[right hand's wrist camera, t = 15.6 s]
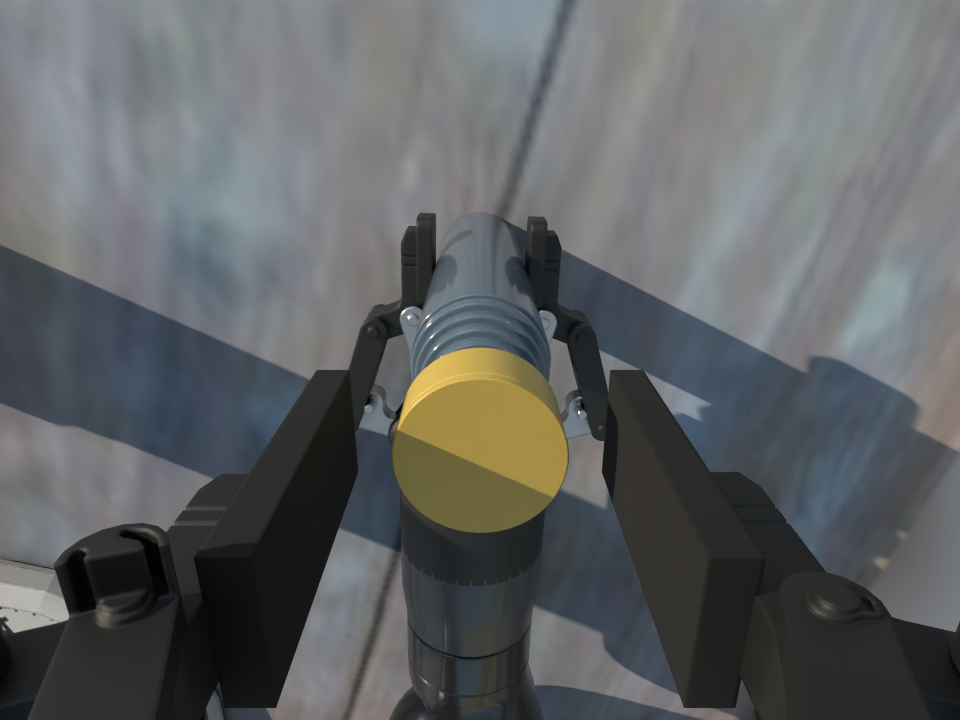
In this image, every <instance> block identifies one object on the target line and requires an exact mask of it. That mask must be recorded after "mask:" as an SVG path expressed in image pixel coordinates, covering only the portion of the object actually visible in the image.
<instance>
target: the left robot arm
mask: <svg viewBox="0 0 960 720" xmlns="http://www.w3.org/2000/svg"><path fill="white" fill-rule="evenodd" d="M560 258H561V245H560V242H559V239H558V236H557V234H556V233H555V231H550V230H547V221H546V219H545V218H544V217H528V222H527V239H526V256H525V269H526V272H527V275H528V278H529V281H530V285H531V288H532V291H533V294H534V298H535V301H536V304H537V307H538V310H539V314H540V317H541V320H542V323H543V326H544V330H545V333H546V336H547V339H548V343H549V345H550V342H551V339H552V338H554V339H556V340H559V341H562V342H564V343H567V346H568V350H569V354H570V358H571V363H572V367H573V371H574V375H575V379H576V383H577V387H578V389H577V390H573V391H571V392H570V393H569V394H568V395H567V396H566V399H565V404H566V406H565V409H564V411H563V412H562V413H561V414H560V416H561V420H562V423H563V427H564V431H565V434H566V438H567V439H570V438H574V437H578V436H582V435H586V434H590V433H591V434H592V436H593V437H594V438H595V439H597V440H600V441H605V429H606V417H607V405H608V389H607V384H606V380H605V376H604V371H603V367H602V362H601V358H600V353H599V349H598V345H597V340H596V336H595V333H594V331H593V329H592V327H591V325H590V323H589V322H588V320H587V318H586V316H585V315H584V314H583V313H582V312H580V311H571V310H569V309H566V308H564V307H562V306H560V305H559V304H558V303H557V297H558V284H559V269H560ZM401 264H402V266H401V268H402V298H401V299H400V300H398V301H397V302H394V303H391V304H388V305H382V304H380V305H376V306H374V307H373V308H372V309H371V310H370V312H369V314H368V317H367V319H366V320H365V321H364V323H363V324H362V326H361V328H360V332H359V335H358V339H357V342H356V346H355V349H354V353H353V356H352V360H351V363H350V366H349V370H350V381H351V393H352V405H353V417H354V429H355V431H356V430H357V429H358V427H360V428H363V429H366V430H370V431H373V432H376V433H380V434H383V435H386V436H388V438H389V442H390V444H391V446H392V448H393V442H394V437H395V433H396V430H397V426H398V422H399V418H400V415H401V411H402V407H403V404H404V402H403V403H402V405H401V406H400V407H399V408H398V410H397V411H396V412H393V411H391V410H390V409H389V408H388V406H387V404H386V392H385V390H384V389H383V388H382V387H381V386H379V385H376V384H374V382H375V379H376V376H377V373H378V369H379V366H380V363H381V360H382V356H383V353H384V350H385V347H386V343H387V340H388V339H389V338H392V337H395V336H399V335H402V334H404V336H405V339H406V342H407V345H408V348H409V352H410V350H411V345H412V341H413V338H414V335H415V331H416V328H417V325H418V322H419V318H420V315H421V312H422V309H423V305H424V302H425V299H426V296H427V292H428V289H429V286H430V282H431V279H432V276H433V273H434V269H435V266H436V214H435V213H420V214H419V215H418V217H417V222H416V226H409V227H408V228H407V230H406V231H405V234H404V236H403V239H402V242H401ZM400 505H401V550H402V581H403V589H404V595H405V600H406V605H407V624H408V661H409V673H410V678H411V681H412V685H413V686H412V687H411V688H410V689H408V690H407V691H406V693H405V694H404V695H403V696H402V697H401V699H400V700H399V702H398V703H397V705H396V706H395V708H394V710H393V712H392V714H391V717H390V719H389V720H544V719H543V715H542V711H541V708H540V704H539V700H538V697H537V693H536V689H535V685H534V681H533V677H532V673H531V670H530V667H529V664H528V660H529V648H530V635H531V622H532V612H533V607H534V603H535V599H536V596H537V591H538V586H539V577H540V565H541V553H542V540H543V528H544V516H545V509H543V510H542V511H541V512H540V513H539V514H538V515H536V516H535V517H533V518H532V519H530V520H528V521H526V522H524V523H522V524H520V525H518V526H515V527H512V528H510V529H506V530H502V531H497V532H489V533H473V532H464V531H459V530H455V529H452V528H448V527H445V526H443V525H441V524H439V523H436V522H434V521H433V520H431V519H429V518H428V517H426V516H425V515H424V514H422V513H421V512H420V511H418V510H417V509H416V508H415V507H414V506H413V505H412V504H411V503H410V501H409V500H408V499H407V498H406V496H405V495H404V493H403V492H402V490H401V488H400Z"/></svg>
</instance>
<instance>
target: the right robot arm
mask: <svg viewBox="0 0 960 720" xmlns="http://www.w3.org/2000/svg"><path fill="white" fill-rule="evenodd" d="M357 474H358V465H357V453H356V441H355V429H354V417H353V405H352V393H351V381H350V370H317V371H316V372H315V374H314V375H313V377H312V378H311V380H310V381H309V383H308V384H307V386H306V387H305V389H304V391H303V392H302V394H301V395H300V397H299V398H298V400H297V401H296V403H295V404H294V406H293V407H292V409H291V410H290V412H289V413H288V415H287V416H286V418H285V419H284V421H283V422H282V424H281V426H280V427H279V429H278V430H277V432H276V433H275V435H274V436H273V438H272V439H271V441H270V442H269V444H268V445H267V447H266V448H265V450H264V451H263V453H262V454H261V456H260V457H259V459H258V461H257V462H256V464H255V465H254V467H253V468H252V470H251V471H250V473H249V474H221V475H220V476H218V477H217V478H215V479H214V480H212V481H211V482H209V483H208V484H206V485H205V486H204V487H202V488H201V489H199V490H198V492H197V493H196V494H195V496H194V497H193V498H192V500H191V501H190V502H189V504H188V505H187V506H186V510H185V511H182V513H181V514H180V515H179V517H178V518H177V519H176V521H175V522H174V526H171V527H170V528H169V530H168V531H167V532H165V531H163V530H162V529H161V528H160V527H158V526H154V525H149V524H144V523H138V524H123V525H119V526H115V527H112V528H108V529H104V530H101V531H99V532H96V533H94V534H92V535H90V536H88V537H85V538H83V539H81V540H80V541H78V542H77V543H75V544H74V545H72V546H71V547H70V548H68V549H67V550H65V551H64V552H63V553H62V555H61V556H60V557H59V558H58V560H57V561H56V562H55V563H54V568H55V572H56V575H57V578H58V581H59V585H60V588H61V591H62V594H63V597H64V601H65V604H66V607H67V610H68V613H69V618H68V620H66V621H62V622H59V623H56V624H51V625H47V626H42V627H38V628H33V629H29V630H24V631H20V632H16V633H11V634H7V635H5V633H4V630H3V627H2V625H1V622H0V720H209V719H208V714H207V710H206V707H207V705H208V703H209V701H210V699H211V696H212V694H213V692H214V690H215V688H216V686H217V684H218V681H219V682H220V687H221V692H222V697H223V702H224V706H225V708H276V706H277V703H278V700H279V698H280V695H281V692H282V689H283V686H284V683H285V680H286V677H287V675H288V672H289V669H290V666H291V663H292V660H293V657H294V654H295V652H296V649H297V646H298V643H299V640H300V637H301V634H302V632H303V629H304V626H305V623H306V620H307V617H308V614H309V611H310V609H311V606H312V603H313V600H314V597H315V594H316V591H317V588H318V586H319V583H320V580H321V577H322V574H323V571H324V568H325V565H326V563H327V560H328V557H329V554H330V551H331V548H332V545H333V543H334V540H335V537H336V534H337V531H338V528H339V525H340V522H341V520H342V517H343V514H344V511H345V508H346V505H347V502H348V499H349V497H350V494H351V491H352V488H353V485H354V482H355V479H356V476H357ZM602 474H603V476H604V479H605V482H606V485H607V488H608V491H609V494H610V497H611V499H612V502H613V505H614V508H615V511H616V514H617V517H618V520H619V522H620V525H621V528H622V531H623V534H624V537H625V540H626V543H627V545H628V548H629V551H630V554H631V557H632V560H633V563H634V565H635V568H636V571H637V574H638V577H639V580H640V583H641V586H642V588H643V591H644V594H645V597H646V600H647V603H648V606H649V609H650V611H651V614H652V617H653V620H654V623H655V626H656V629H657V632H658V634H659V637H660V640H661V643H662V646H663V649H664V652H665V654H666V657H667V660H668V663H669V666H670V669H671V672H672V675H673V677H674V680H675V683H676V686H677V689H678V692H679V695H680V698H681V700H682V703H683V706H684V708H735V706H736V702H737V697H738V692H739V687H740V682H741V678H742V681H743V683H744V685H745V687H746V689H747V691H748V693H749V695H750V698H751V700H752V702H753V704H754V710H753V714H752V719H751V720H960V622H959V625H958V628H957V630H956V632H952V631H947V630H943V629H938V628H934V627H930V626H925V625H921V624H916V623H912V622H907V621H903V620H900V619H896V618H893V617H891V615H890V613H889V612H888V611H887V609H886V608H885V606H884V605H883V603H882V602H881V601H880V600H879V599H878V598H877V597H875V596H874V595H873V594H872V593H870V592H869V591H868V590H867V589H865V588H864V587H862V586H860V585H858V584H856V583H854V582H852V581H850V580H848V579H846V578H844V577H840V576H837V575H833V574H830V573H826V571H825V570H824V569H823V567H822V566H821V565H820V563H819V562H818V561H817V560H816V558H815V557H814V556H813V554H812V553H811V552H810V550H809V549H808V548H807V547H806V545H805V544H804V543H803V541H802V540H801V539H800V537H799V536H798V535H797V534H796V532H795V531H794V530H793V528H792V527H791V526H790V524H786V519H785V518H784V517H783V515H782V514H781V513H780V511H779V510H778V509H775V505H774V504H773V502H772V501H771V500H770V498H769V497H768V496H767V494H766V493H765V492H764V491H763V489H762V488H761V487H760V486H758V485H757V484H755V483H754V482H752V481H751V480H749V479H748V478H746V477H745V476H743V475H742V474H740V473H739V472H710V471H709V470H708V468H707V467H706V465H705V464H704V462H703V461H702V459H701V457H700V456H699V454H698V453H697V451H696V450H695V448H694V447H693V445H692V444H691V442H690V441H689V439H688V438H687V436H686V435H685V433H684V432H683V430H682V429H681V427H680V426H679V424H678V422H677V421H676V419H675V418H674V416H673V415H672V413H671V412H670V410H669V409H668V407H667V406H666V404H665V403H664V401H663V400H662V398H661V397H660V395H659V394H658V392H657V391H656V389H655V387H654V386H653V384H652V383H651V381H650V380H649V378H648V377H647V375H646V374H645V372H644V371H643V370H610V381H609V393H608V405H607V417H606V429H605V441H604V453H603V465H602Z"/></svg>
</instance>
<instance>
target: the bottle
mask: <svg viewBox="0 0 960 720" xmlns="http://www.w3.org/2000/svg"><path fill="white" fill-rule="evenodd" d="M469 348H492V349H498V350H502V351H506V352H509V353H511V354H514V355H516V356H518V357H520V358H522V359H524V360H525V361H527V362H528V363H530V364H531V365H533V366H534V367H535V368H536V369H537V370H538V371H539V372H540V373H541V374H542V375H543V376H544V378H545V379H546V380H547V382H548V380H549V375H550V366H551V354H550V347H549V343H548V339H547V336H546V333H545V330H544V326H543V323H542V320H541V317H540V314H539V310H538V307H537V304H536V301H535V298H534V294H533V291H532V288H531V285H530V281H529V278H528V275H527V272H526V269H525V265H524V262H523V259H522V256H521V253H520V249H519V246H518V243H517V240H516V237H515V235H514V233H513V231H512V229H511V228H510V227H509V225H508V224H507V223H506V222H504V221H503V220H502V219H500V218H499V217H497V216H494V215H492V214H488V213H472V214H468V215H466V216H463V217H462V218H460V219H458V220H457V221H456V222H455V223H454V224H453V225H452V226H451V227H450V228H449V230H448V231H447V233H446V235H445V237H444V240H443V243H442V247H441V250H440V253H439V256H438V260H437V263H436V266H435V269H434V273H433V276H432V279H431V282H430V286H429V289H428V292H427V296H426V299H425V302H424V305H423V309H422V312H421V315H420V318H419V322H418V325H417V328H416V331H415V335H414V338H413V341H412V345H411V350H410V369H411V377H412V382H413V381H414V380H415V379H416V377H417V376H418V375H419V374H420V373H421V372H422V371H423V370H424V369H425V368H426V367H427V366H428V365H430V364H431V363H432V362H434V361H435V360H437V359H439V358H441V357H442V356H445V355H447V354H449V353H452V352H455V351H459V350H462V349H469Z"/></svg>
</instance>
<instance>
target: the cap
mask: <svg viewBox="0 0 960 720" xmlns="http://www.w3.org/2000/svg"><path fill="white" fill-rule="evenodd" d="M392 462H393V469H394V473H395V477H396V479H397V482H398V484H399V486H400V488H401V490H402V492H403V493H404V495H405V496H406V498H407V499H408V500H409V501H410V503H411V504H412V505H413V506H414V507H415V508H416V509H417V510H418V511H420V512H421V513H422V514H424V515H425V516H426V517H428V518H429V519H431V520H433V521H434V522H436V523H439V524H441V525H443V526H445V527H448V528H452V529H455V530H459V531H464V532H473V533H489V532H497V531H502V530H506V529H510V528H512V527H515V526H518V525H520V524H522V523H524V522H526V521H528V520H530V519H532V518H533V517H535V516H536V515H538V514H539V513H540V512H541V511H542V510H543V509H545V508H546V507H547V506H548V505H549V503H550V502H551V501H552V500H553V499H554V497H555V496H556V494H557V493H558V492H559V490H560V488H561V486H562V484H563V482H564V479H565V476H566V473H567V468H568V463H569V449H568V441H567V438H566V434H565V431H564V427H563V423H562V420H561V416H560V412H559V409H558V405H557V401H556V398H555V395H554V393H553V391H552V388H551V387H550V385H549V383H548V382H547V380H546V379H545V378H544V376H543V375H542V374H541V373H540V372H539V371H538V370H537V369H536V368H535V367H534V366H533V365H531V364H530V363H528V362H527V361H525V360H524V359H522V358H520V357H518V356H516V355H514V354H511V353H509V352H506V351H502V350H498V349H492V348H469V349H462V350H459V351H455V352H452V353H449V354H447V355H445V356H442V357H441V358H439V359H437V360H435V361H434V362H432V363H431V364H430V365H428V366H427V367H426V368H425V369H424V370H423V371H422V372H421V373H420V374H419V375H418V376H417V377H416V379H415V380H414V381H413V383H412V385H411V386H410V388H409V390H408V392H407V395H406V397H405V400H404V404H403V407H402V411H401V415H400V418H399V422H398V426H397V430H396V433H395V437H394V442H393V448H392Z"/></svg>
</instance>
